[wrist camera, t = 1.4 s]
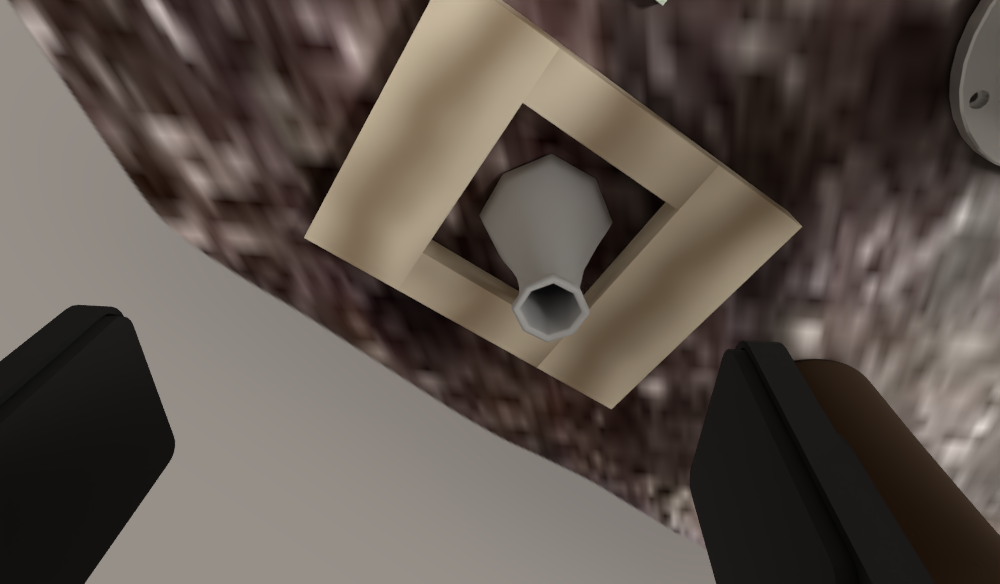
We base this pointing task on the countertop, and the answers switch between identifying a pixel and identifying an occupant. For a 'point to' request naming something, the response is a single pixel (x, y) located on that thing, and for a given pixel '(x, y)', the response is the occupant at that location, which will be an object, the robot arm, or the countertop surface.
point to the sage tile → (661, 1)
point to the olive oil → (907, 478)
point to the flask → (547, 240)
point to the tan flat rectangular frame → (594, 123)
